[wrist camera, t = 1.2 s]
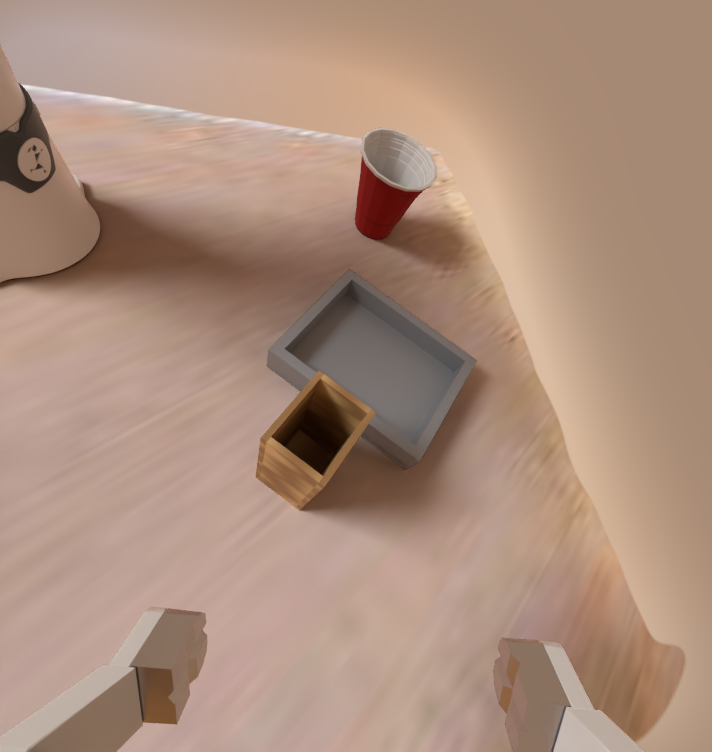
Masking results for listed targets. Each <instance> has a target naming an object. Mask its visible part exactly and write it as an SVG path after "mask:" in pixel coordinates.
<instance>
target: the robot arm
mask: <svg viewBox="0 0 712 752" xmlns="http://www.w3.org/2000/svg"><path fill="white" fill-rule="evenodd" d="M99 234H100V222H99V218H98V216H97V214H96V212H95V210H94V209H93V208H92V206H91V205H90V204H89V202H88V201H87V199H86V198H85V193H84V187H83V184H82V183H81V181H80V179H79V177H78V176H77V175H75V174H72V173H71V172H70V170H69V168H68V167H67V165H66V163H65V161H64V160H63V158H62V156H61V155H60V153H59V151H58V149H57V148H56V146H55V144H54V143H53V141H52V139H51V138H50V136H49V134H48V133H47V130H46V128H45V126H44V124H43V122H42V119H41V117H40V113H39V111H38V109H37V107H36V105H35V104H34V103H33V101H32V99H31V98H30V96H29V94H28V92H27V91H26V90H25V88H24V87H23V86H22V85H20V84H19V83H18V82H17V80H16V78H15V75H14V73H13V71H12V69H11V67H10V65H9V63H8V61H7V58H6V56H5V54H4V52H3V50H2V48H1V45H0V282H2V281H5V280H7V279H13V278H22V277H33V276H40V275H45V274H49V273H53V272H56V271H59V270H62V269H64V268H66V267H69V266H71V265H72V264H74V263H76V262H78V261H79V260H80V259H82V258H83V257H84V256H86V255H87V254H88V253H89V252H90V251H91V249H92V248H93V247H94V245H95V244H96V242H97V240H98V237H99ZM205 624H206V616H205V613H202V612H194V611H185V610H177V609H167V608H157V607H150V608H149V609H147V610H146V611H145V612H144V614H143V615H142V616H141V618H140V619H139V621H138V622H137V624H136V625H135V627H134V628H133V630H132V631H131V633H130V634H129V636H128V637H127V639H126V640H125V642H124V643H123V645H122V646H121V647H120V649H119V650H118V652H117V653H116V655H115V656H114V658H113V659H112V661H111V662H110V664H109V665H102V666H100V667H99V668H98V669H96V670H95V671H93V672H92V673H90V674H89V675H88V676H86V677H85V678H83V679H82V680H80V681H79V682H78V683H76V684H75V685H73V686H72V687H70V688H69V689H68V690H66V691H65V692H63V693H62V694H60V695H59V696H57V697H56V698H55V699H53V700H52V701H50V702H49V703H47V704H46V705H45V706H43V707H42V708H40V709H39V710H37V711H36V712H35V713H33V714H32V715H30V716H29V717H27V718H26V719H25V720H23V721H22V722H20V723H19V724H17V725H16V726H15V727H13V728H12V729H10V730H9V731H7V732H6V733H5V734H3V735H2V736H0V752H116V751H117V750H118V749H119V748H120V747H121V746H122V745H123V744H124V743H125V742H126V741H127V740H128V739H129V738H130V737H131V736H132V735H133V734H134V733H135V732H136V731H137V730H138V729H139V728H140V727H141V726H142V725H143V722H146V723H163V724H177V723H178V721H179V719H180V716H181V714H182V712H183V710H184V707H185V705H186V703H187V700H188V698H189V696H190V690H189V684H190V683H191V682H192V681H193V680H195V679H196V678H197V677H198V675H199V673H200V670H201V668H202V666H203V662H204V659H205V655H206V650H207V635H206V634H205V632H204V631H203V628H204V626H205ZM498 650H499V653H500V657H499V658H498V659H497V660H496V661H495V665H494V686H495V691H496V695H497V699H498V703H499V705H500V706H501V707H502V708H503V710H504V711H505V712H506V713H507V716H506V721H505V727H506V730H507V734H508V737H509V740H510V744H511V747H512V750H513V752H645V751H644V750H643V749H642V748H641V747H639V746H638V745H637V744H636V743H635V742H634V741H633V740H632V739H631V738H630V737H629V736H628V735H627V734H626V733H625V732H624V731H622V730H621V729H620V728H619V727H618V726H617V725H616V724H615V723H614V722H613V721H612V720H611V719H610V718H609V717H608V716H606V715H605V714H604V713H603V712H602V711H601V710H596V709H594V707H593V705H592V703H591V701H590V699H589V697H588V695H587V693H586V691H585V690H584V688H583V686H582V684H581V682H580V680H579V678H578V676H577V674H576V672H575V670H574V668H573V666H572V664H571V662H570V660H569V658H568V656H567V654H566V652H565V650H564V649H563V647H562V645H561V644H560V643H559V642H547V641H537V640H526V639H512V638H501V640H500V641H499V645H498Z"/></svg>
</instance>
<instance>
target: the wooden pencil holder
mask: <svg viewBox="0 0 712 752" xmlns="http://www.w3.org/2000/svg"><path fill="white" fill-rule="evenodd" d="M375 414H376V412H375V411H374V410H372V409H371V408H370V407H368V406H367V405H365V404H364V403H363V402H361V401H360V400H359V399H357V398H356V397H355V396H353V395H352V394H351V393H349V392H348V391H347V390H345V389H344V388H342V387H341V386H340V385H338V384H337V383H336V382H334V381H333V380H332V379H330V378H329V377H328V376H326V375H325V374H324V373H322V372H321V371H318V372H317V373H316V375H315V376H314V377H313V378H312V379H311V380H310V382H309V383H308V384H307V385H306V386H305V387H304V389H303V390H302V391H301V392H300V393H299V394H298V395H297V397H296V398H295V399H294V400H293V401H292V402H291V404H290V405H289V406H288V407H287V408H286V409H285V411H284V412H283V413H282V414H281V415H280V416H279V417H278V419H277V420H276V421H275V422H274V423H273V424H272V426H271V427H270V428H269V429H268V430H267V431H266V433H265V434H264V435H263V436H262V437H261V440H260V448H259V455H258V463H257V470H256V478H258V479H259V480H260V481H262V482H263V483H264V484H265V485H267V486H268V487H269V488H271V489H272V490H273V491H275V492H276V493H277V494H278V495H280V496H281V497H282V498H284V499H285V500H286V501H288V502H289V503H290V504H292V505H293V506H294V507H295V508H297V509H298V510H300V509H301V508H302V507H304V506H305V505H306V504H307V503H308V502H309V501H310V500H311V499H312V498H313V497H314V496H315V495H316V494H317V493H319V492H320V491H321V490H322V489H323V488H324V487H325V486H326V484H327V483H328V481H329V480H330V479H331V477H332V476H333V474H334V473H335V471H336V470H337V468H338V467H339V466H340V464H341V463H342V461H343V460H344V458H345V457H346V456H347V454H348V453H349V451H350V450H351V448H352V447H353V445H354V444H355V443H356V441H357V440H358V438H359V437H360V435H361V434H362V432H363V431H364V430H365V428H366V427H367V425H368V424H369V422H370V421H371V420H372V418H373V417H374V415H375Z"/></svg>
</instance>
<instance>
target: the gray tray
mask: <svg viewBox="0 0 712 752" xmlns="http://www.w3.org/2000/svg"><path fill="white" fill-rule="evenodd" d="M476 361H477V360H476V359H474V358H473V357H471V356H470V355H469V354H467V353H466V352H465V351H463V350H462V349H460V348H459V347H458V346H456V345H455V344H453V343H452V342H451V341H449V340H448V339H446V338H445V337H444V336H442V335H441V334H439V333H438V332H437V331H435V330H434V329H432V328H431V327H430V326H428V325H427V324H425V323H424V322H423V321H421V320H420V319H419V318H417V317H416V316H414V315H413V314H412V313H410V312H409V311H407V310H406V309H405V308H403V307H402V306H400V305H399V304H398V303H396V302H395V301H393V300H392V299H391V298H389V297H388V296H386V295H385V294H384V293H382V292H381V291H380V290H378V289H377V288H375V287H374V286H373V285H371V284H370V283H368V282H367V281H366V280H364V279H363V278H361V277H360V276H359V275H357V274H356V273H354V272H353V271H352V270H350V269H349V270H348V271H347V272H346V273H345V274H344V275H343V276H342V277H341V278H340V279H339V280H338V281H337V282H336V283H335V284H334V285H333V286H332V287H331V288H330V289H329V290H328V291H327V292H326V293H325V294H324V295H323V296H322V297H321V298H320V299H319V300H318V301H317V302H316V303H315V304H314V305H313V306H312V307H311V308H310V309H309V310H308V311H307V312H306V313H305V314H304V315H303V316H302V317H301V318H300V319H299V320H298V321H297V322H296V323H295V324H294V325H293V326H292V327H291V328H290V329H289V330H288V331H287V332H286V333H285V334H284V335H283V336H282V337H281V338H280V339H279V340H278V341H277V342H276V343H275V344H274V345H273V346H272V347H271V348H270V349H269V350H268V359H267V367H268V368H270V369H271V370H273V371H274V372H275V373H277V374H278V375H279V376H281V377H282V378H283V379H285V380H286V381H287V382H289V383H290V384H291V385H293V386H294V387H295V388H297V389H298V390H299V391H302V390H303V389H304V387H305V386H306V385H307V384H308V383H309V382H310V380H311V379H312V378H313V377H314V376H315V375H316V373H317V372H318V371H321V372H322V373H324V374H325V375H326V376H328V377H329V378H330V379H332V380H333V381H334V382H336V383H337V384H338V385H340V386H341V387H342V388H344V389H345V390H347V391H348V392H349V393H351V394H352V395H353V396H355V397H356V398H357V399H359V400H360V401H361V402H363V403H364V404H365V405H367V406H368V407H370V408H371V409H372V410H374V411H375V412H376V414H375V415H374V417H373V418H372V420H371V421H370V422H369V424H368V425H367V427H366V428H365V430H364V431H363V432H362V434H361V435H360V436H361V437H362V438H364V439H365V440H366V441H368V442H369V443H370V444H372V445H373V446H374V447H376V448H377V449H378V450H380V451H381V452H383V453H384V454H385V455H387V456H388V457H389V458H391V459H392V460H393V461H395V462H396V463H397V464H399V465H400V466H401V467H403V468H404V469H405V470H406V469H407V468H409V467H411V466H413V465H414V464H416V463H418V462H420V460H421V458H422V456H423V455H424V453H425V451H426V449H427V448H428V446H429V444H430V442H431V441H432V439H433V437H434V435H435V434H436V432H437V430H438V428H439V426H440V425H441V423H442V421H443V419H444V418H445V416H446V414H447V412H448V411H449V409H450V407H451V405H452V404H453V402H454V400H455V398H456V396H457V395H458V393H459V391H460V389H461V388H462V386H463V384H464V382H465V381H466V379H467V377H468V375H469V374H470V372H471V370H472V368H473V366H474V365H475V363H476Z"/></svg>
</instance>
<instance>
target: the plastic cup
mask: <svg viewBox="0 0 712 752" xmlns="http://www.w3.org/2000/svg"><path fill="white" fill-rule="evenodd" d="M361 154H362V162H361V174H360V181H359V188H358V196H357V208H356V216H355V224H356V226H357V229H358V230H359V231H360V232H361V233H362V234H363V235H365V236H367V237H368V238H372V239H383V238H385V237H387V235H388V234H390V232H391V231H392V229H393V228H394V226H395V225H396V223H398V222H399V220H400V219H401V217H402V216H403V215H404V213H405V212H406V211H407V209H408V208H409V206H410V205H411V204H412V202H413V201H414V200H415V198H417V197H418V195H419V194H420V193H422V191H423V190H425V189H427V188H429V187H430V186H432V184H433V182H434V181H435V179H436V178H437V167H436V164H435V162H434V160H433V158H432V156H431V154H430V153H429V152H428V151H427V150H426V149H425V148H424V147H423V146H422V144H420V143H419V142H418V141H416V140H415V139H413V138H412V137H410V136H409V135H407V134H404V133H402V132H400V131H397V130H395V129H388V128H377V129H374V130H370V131H368V132H367V133H366V135H365V136H364V137H363V138H362V145H361Z"/></svg>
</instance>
